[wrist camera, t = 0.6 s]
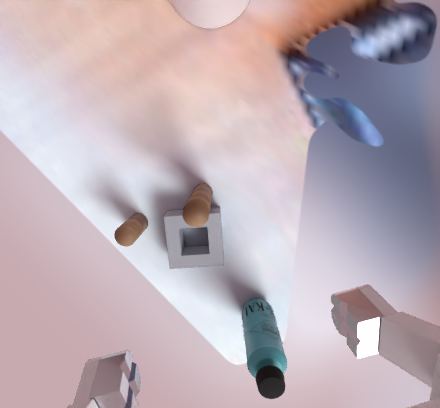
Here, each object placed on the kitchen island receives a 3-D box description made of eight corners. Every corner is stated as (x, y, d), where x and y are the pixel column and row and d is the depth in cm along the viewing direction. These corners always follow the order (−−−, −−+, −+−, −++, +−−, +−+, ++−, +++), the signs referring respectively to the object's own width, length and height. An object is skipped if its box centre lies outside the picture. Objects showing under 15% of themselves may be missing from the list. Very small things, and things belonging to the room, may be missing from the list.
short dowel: (128, 214, 55) (113, 226, 47) (146, 213, 55) (134, 225, 47) (131, 231, 56) (116, 246, 48) (149, 230, 56) (137, 245, 48)
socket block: (168, 210, 55) (163, 216, 50) (220, 207, 55) (219, 213, 50) (173, 258, 57) (169, 268, 53) (223, 255, 57) (223, 265, 52)
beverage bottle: (268, 323, 60) (291, 411, 41) (237, 318, 60) (245, 405, 40) (274, 295, 59) (300, 373, 39) (242, 291, 58) (253, 367, 39)
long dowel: (192, 184, 54) (181, 202, 38) (211, 182, 53) (207, 200, 38) (194, 202, 54) (183, 227, 39) (213, 201, 54) (209, 226, 39)
